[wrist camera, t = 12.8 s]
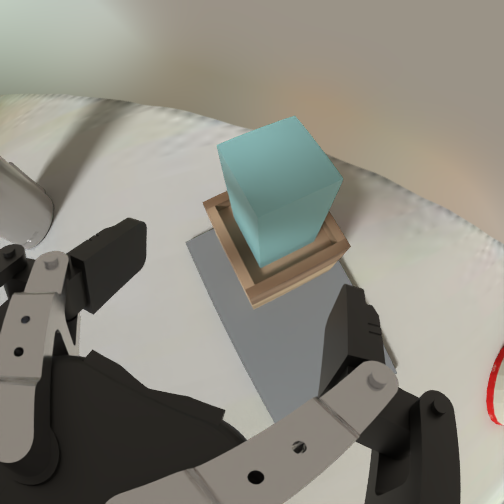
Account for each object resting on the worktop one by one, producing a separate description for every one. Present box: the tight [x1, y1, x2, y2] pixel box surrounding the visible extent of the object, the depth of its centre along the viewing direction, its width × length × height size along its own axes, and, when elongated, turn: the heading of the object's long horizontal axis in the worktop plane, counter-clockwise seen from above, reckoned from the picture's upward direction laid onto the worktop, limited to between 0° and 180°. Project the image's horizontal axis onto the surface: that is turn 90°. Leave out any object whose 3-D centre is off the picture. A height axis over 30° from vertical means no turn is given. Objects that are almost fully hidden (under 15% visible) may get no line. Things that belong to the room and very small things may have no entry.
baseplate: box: [186, 229, 397, 423], centre depth 29 cm, size 24×14×1 cm, turn 27°
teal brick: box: [217, 116, 343, 268], centre depth 19 cm, size 5×5×10 cm
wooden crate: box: [203, 191, 351, 309], centre depth 27 cm, size 9×9×8 cm
